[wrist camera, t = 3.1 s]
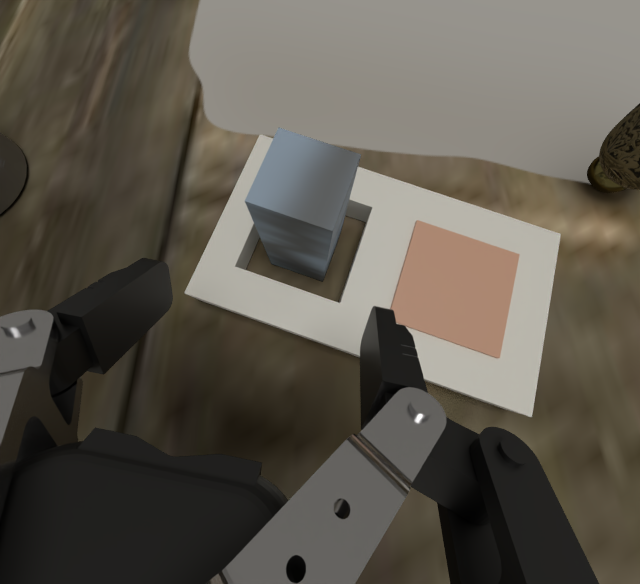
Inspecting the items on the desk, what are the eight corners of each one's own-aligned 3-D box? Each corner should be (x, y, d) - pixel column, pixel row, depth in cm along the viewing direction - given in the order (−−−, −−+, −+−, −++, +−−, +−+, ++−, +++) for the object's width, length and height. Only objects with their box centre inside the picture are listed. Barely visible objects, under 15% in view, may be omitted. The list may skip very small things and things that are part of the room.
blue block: (271, 263, 22) (244, 201, 13) (290, 216, 23) (278, 127, 14) (322, 281, 22) (333, 231, 13) (340, 233, 23) (361, 154, 14)
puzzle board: (198, 299, 21) (182, 292, 19) (264, 156, 24) (259, 131, 22) (505, 409, 21) (535, 418, 18) (534, 246, 24) (564, 232, 21)
